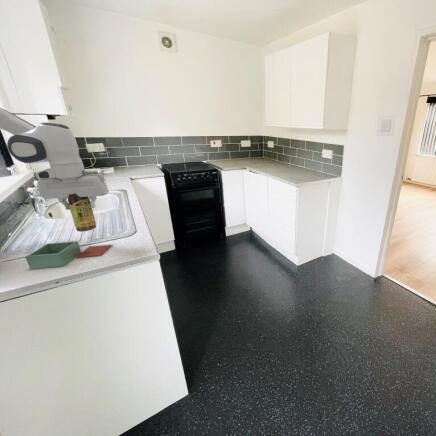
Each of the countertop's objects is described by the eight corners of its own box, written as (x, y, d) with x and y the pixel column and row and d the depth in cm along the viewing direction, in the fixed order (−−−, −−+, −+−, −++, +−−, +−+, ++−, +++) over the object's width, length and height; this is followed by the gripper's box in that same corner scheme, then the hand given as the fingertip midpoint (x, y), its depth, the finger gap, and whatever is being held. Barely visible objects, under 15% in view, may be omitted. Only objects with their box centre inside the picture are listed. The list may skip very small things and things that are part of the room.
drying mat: (76, 258, 93) (76, 256, 93) (90, 247, 101) (89, 246, 101) (100, 255, 94) (99, 254, 94) (111, 245, 103) (111, 244, 103)
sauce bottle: (84, 233, 91) (67, 180, 84) (72, 231, 92) (54, 179, 86) (101, 226, 97) (87, 176, 90) (90, 225, 98) (75, 176, 92)
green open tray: (30, 269, 86) (24, 256, 84) (52, 255, 95) (47, 243, 94) (63, 266, 87) (59, 253, 86) (81, 252, 97) (77, 241, 96)
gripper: (106, 169, 92) (115, 204, 96) (42, 171, 88) (55, 207, 93) (97, 171, 86) (107, 209, 91) (29, 174, 82) (43, 213, 87)
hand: (81, 208), depth 92 cm, fingers closed on sauce bottle, 6 cm apart
